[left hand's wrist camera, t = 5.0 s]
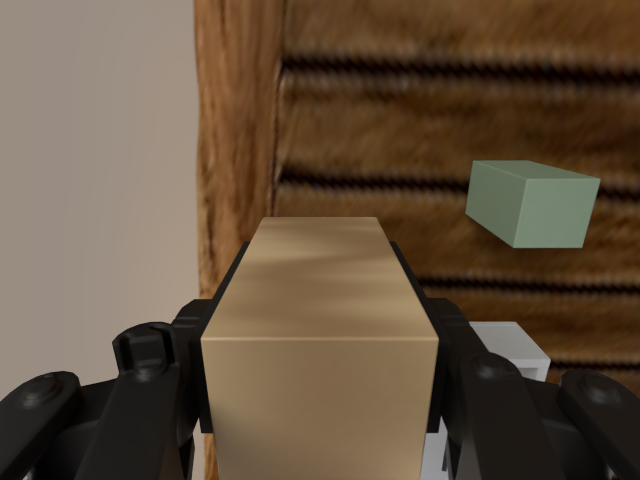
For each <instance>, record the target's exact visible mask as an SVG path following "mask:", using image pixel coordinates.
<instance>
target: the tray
mask: <svg viewBox="0 0 640 480" xmlns="http://www.w3.org/2000/svg"><path fill="white" fill-rule="evenodd" d="M469 323H470V326H472V328H473V329H474V330H475V332H476V333H477V335H478V336H479V338H480V339H481V340H482V342H483V343H484V345H485V346H486V348H487V349H488V350H489V352H492V353H496V354H498V355H500V356H502V357H505V358H507V359H508V360H509V361H511V362H512V363H513V364H515V365H516V367H517V368H518V369H519V371H520V372H521V374H522V376H523V377H526V378H530V379H534V380H538V381H543V382H545V379H546V375H547V371H548V367H549V364H550V358H549V357H548V356H547V355H546V354H545V353H544V352H543V351H542V350H541V349H540V348H539V347H538V345H537V344H536V343H535V342H534V341H533V340H532V339H531V338H530V337H529V336H528V335H527V334H526V333H525V331H524V330H523V329H522V328H521V327H520V326H519V325H518V324H517V323H516V322H469ZM446 439H447V429H446V427H445V424H444V422H443V419H442V417H441V420H440V427H439V433H426V440H425V447H424V454H423V462H422V469H421V476H420V480H449V478H448V469H447V470H446V472H445V471H442V463H443V457H444V451H445V445H446Z"/></svg>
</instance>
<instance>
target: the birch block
mask: <svg viewBox="0 0 640 480" xmlns="http://www.w3.org/2000/svg"><path fill="white" fill-rule="evenodd" d="M438 344H439V338H438V335H437V334H436V332H435V330H434V328H433V326H432V324H431V322H430V320H429V318H428V316H427V314H426V312H425V310H424V308H423V307H422V305H421V303H420V301H419V299H418V297H417V295H416V293H415V291H414V289H413V287H412V285H411V283H410V281H409V280H408V278H407V276H406V274H405V272H404V270H403V268H402V266H401V264H400V262H399V260H398V258H397V256H396V254H395V253H394V251H393V249H392V247H391V245H390V243H389V241H388V239H387V237H386V235H385V233H384V231H383V229H382V227H381V225H380V224H379V222H378V220H377V218H376V217H264V218H263V219H262V221H261V223H260V225H259V227H258V229H257V231H256V233H255V235H254V237H253V239H252V241H251V243H250V244H249V246H248V248H247V250H246V252H245V254H244V256H243V258H242V260H241V262H240V264H239V266H238V268H237V269H236V271H235V273H234V275H233V277H232V279H231V281H230V283H229V285H228V287H227V289H226V291H225V293H224V294H223V296H222V298H221V300H220V302H219V304H218V306H217V308H216V310H215V312H214V314H213V316H212V318H211V319H210V321H209V323H208V325H207V327H206V329H205V331H204V333H203V335H202V337H201V346H202V353H203V361H204V368H205V375H206V383H207V390H208V397H209V405H210V412H211V419H212V427H213V434H214V442H215V449H216V456H217V464H218V471H219V478H220V480H420V476H421V469H422V462H423V454H424V447H425V440H426V432H427V425H428V417H429V410H430V403H431V395H432V388H433V381H434V373H435V366H436V358H437V351H438Z"/></svg>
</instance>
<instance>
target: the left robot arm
mask: <svg viewBox="0 0 640 480" xmlns="http://www.w3.org/2000/svg"><path fill="white" fill-rule="evenodd" d="M250 243H251V242H244V244H243V245H242V247H241V249H240V251H239V252H238V254H237V256H236V258H235V259H234V261H233V263H232V265H231V267H230V268H229V270H228V272H227V274H226V275H225V277H224V279H223V281H222V282H221V284H220V286H219V288H218V290H217V291H216V293H215V295H214V297H213V298H212V299H194V300H193V301H191V302H190V303H188V304H187V305H185V306H184V307H182V309H181V310H180V311H179V313H178V314H177V316H176V318H175V319H174V320H173V322H172V323H171V324H169V323H165V322H148V323H143V324H139V325H136V326H134V327H131V328H129V329H127V330H125V331H124V332H122V333H121V334H119V335H118V336H117V337H116V338H115V339H114V340H113V342H112V345H113V349H114V353H115V357H116V362H117V366H118V370H119V375H118V377H117V378H116V379H112V380H108V381H104V382H100V383H95V384H90V385H85V386H81V385H80V382H79V378H78V377H77V376H76V375H75V374H74V373H72V372H66V371H59V372H50V373H47V374H44V375H40V376H37V377H35V378H33V379H31V380H29V381H27V382H25V383H23V384H21V385H20V386H19V387H17V388H16V389H15V390H13V391H12V392H10V393H9V394H8V395H7V396H6V397H5V398H4V399H3V400H2V401H0V480H23V478H24V477H25V476H26V475H27V477H28V479H27V480H191V479H192V470H193V460H194V451H195V446H194V439H193V430H194V428H195V426H196V423H197V420H198V418H199V421H200V428H201V433H213V427H212V419H211V412H210V405H209V397H208V390H207V383H206V375H205V368H204V361H203V353H202V346H201V337H202V335H203V333H204V331H205V329H206V327H207V325H208V323H209V321H210V319H211V318H212V316H213V314H214V312H215V310H216V308H217V306H218V304H219V302H220V300H221V298H222V296H223V294H224V293H225V291H226V289H227V287H228V285H229V283H230V281H231V279H232V277H233V275H234V273H235V271H236V269H237V268H238V266H239V264H240V262H241V260H242V258H243V256H244V254H245V252H246V250H247V248H248V246H249V244H250ZM389 243H390V245H391V247H392V249H393V251H394V253H395V254H396V256H397V258H398V260H399V262H400V264H401V266H402V268H403V270H404V272H405V274H406V276H407V278H408V280H409V281H410V283H411V285H412V287H413V289H414V291H415V293H416V295H417V297H418V299H419V301H420V303H421V305H422V307H423V308H424V310H425V312H426V314H427V316H428V318H429V320H430V322H431V324H432V326H433V328H434V330H435V332H436V334H437V335H438V338H439V344H438V351H437V358H436V366H435V373H434V381H433V388H432V395H431V403H430V410H429V417H428V425H427V432H426V433H439V427H440V420H441V417H442V419H443V422H444V424H445V427H446V429H447V439H446V445H445V451H444V457H443V463H442V471H445V472H446V470H447V469H448V478H449V480H614V479H613V478H612V476H613V474H615V475H616V476H617V477H618V479H619V480H640V399H638V398H637V397H636V396H635V395H634V394H633V393H632V392H631V391H630V390H628V389H627V388H625V387H624V386H623V385H621V384H620V383H618V382H617V381H615V380H613V379H611V378H609V377H607V376H605V375H602V374H599V373H596V372H592V371H587V370H578V369H576V370H570V371H567V372H566V373H564V374H563V375H562V377H561V381H560V384H559V385H557V384H552V383H548V382H543V381H538V380H534V379H530V378H526V377H523V376H522V374H521V372H520V371H519V369H518V368H517V367H516V365H515V364H513V363H512V362H511V361H509V360H508V359H507V358H505V357H502V356H500V355H498V354H496V353H492V352H489V350H488V349H487V348H486V346H485V345H484V343H483V342H482V340H481V339H480V338H479V336H478V335H477V333H476V332H475V330H474V329H473V328H472V326H470V323H469V322H468V320H467V319H466V318H465V316H464V315H463V313H462V312H461V310H460V309H459V307H458V306H456V305H455V304H453V303H452V302H451V301H449V300H448V299H446V298H427V297H426V295H425V294H424V292H423V290H422V288H421V286H420V285H419V283H418V281H417V279H416V278H415V276H414V274H413V272H412V271H411V269H410V267H409V265H408V263H407V262H406V260H405V258H404V256H403V255H402V253H401V251H400V249H399V248H398V246H397V244H396V242H389Z"/></svg>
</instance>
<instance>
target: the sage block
mask: <svg viewBox="0 0 640 480" xmlns="http://www.w3.org/2000/svg"><path fill="white" fill-rule="evenodd" d="M599 184H600V179H599V178H595V177H591V176H587V175H583V174H579V173H575V172H571V171H567V170H563V169H559V168H555V167H551V166H547V165H543V164H539V163H535V162H531V161H473V164H472V171H471V178H470V185H469V192H468V198H467V205H466V212H465V214H466V215H468V216H469V217H471V218H472V219H473V220H475V221H476V222H478V223H479V224H480V225H482V226H483V227H485V228H486V229H487V230H489V231H490V232H492V233H493V234H494V235H496V236H497V237H499V238H500V239H501V240H503V241H504V242H506V243H507V244H509V245H510V246H511V247H513V248H582V246H583V243H584V239H585V235H586V232H587V228H588V224H589V221H590V217H591V213H592V210H593V206H594V202H595V198H596V195H597V191H598V187H599Z"/></svg>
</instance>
